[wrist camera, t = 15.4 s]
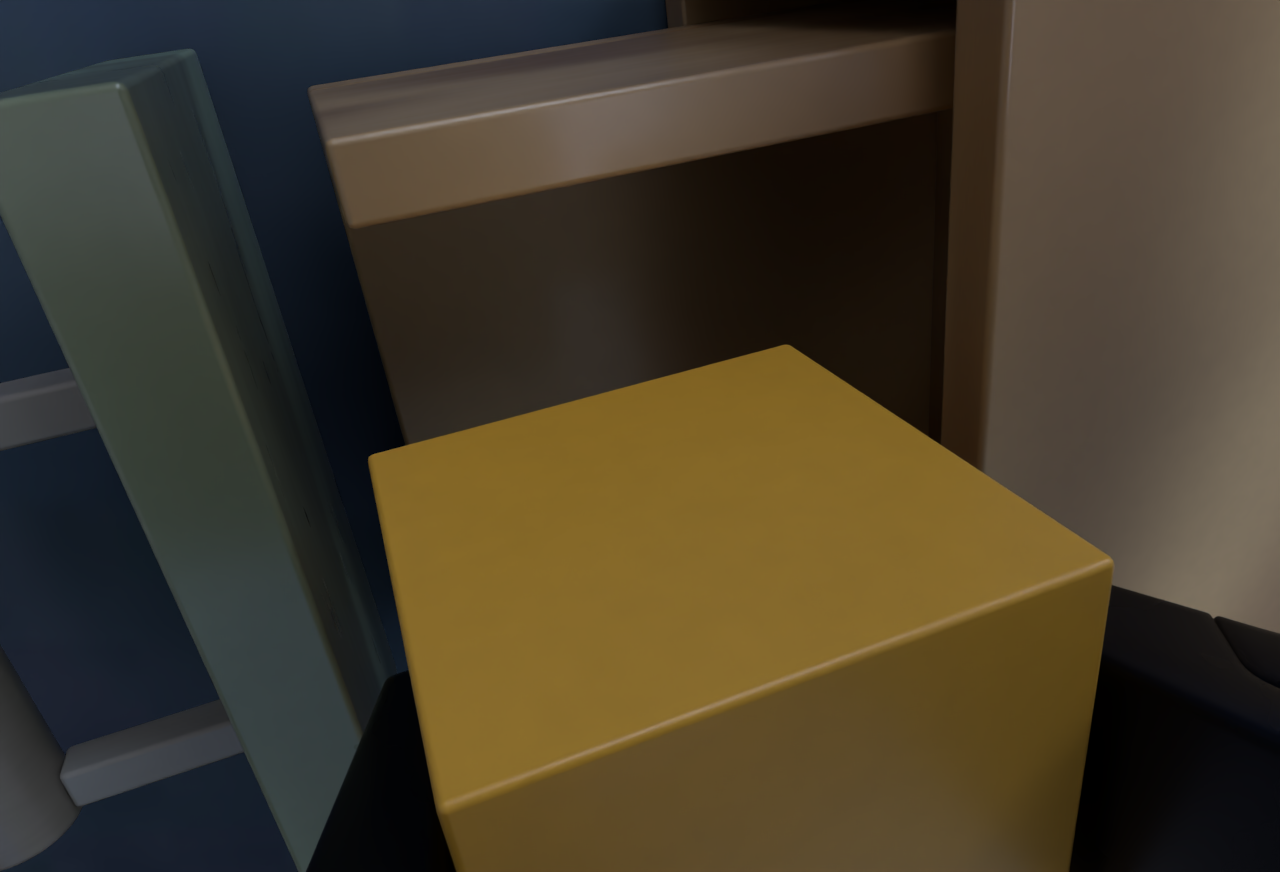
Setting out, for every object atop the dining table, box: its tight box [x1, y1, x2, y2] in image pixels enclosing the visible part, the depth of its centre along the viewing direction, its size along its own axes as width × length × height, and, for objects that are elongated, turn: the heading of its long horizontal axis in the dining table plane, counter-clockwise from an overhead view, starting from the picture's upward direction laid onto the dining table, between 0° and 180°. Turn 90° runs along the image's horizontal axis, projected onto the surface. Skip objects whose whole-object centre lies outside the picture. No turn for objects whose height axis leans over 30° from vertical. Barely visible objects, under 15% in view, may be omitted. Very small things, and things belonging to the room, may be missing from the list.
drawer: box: [0, 0, 957, 872], centre depth 13 cm, size 18×11×7 cm, turn 98°
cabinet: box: [665, 0, 1280, 633], centre depth 16 cm, size 15×13×9 cm
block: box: [368, 345, 1115, 872], centre depth 8 cm, size 4×4×4 cm
